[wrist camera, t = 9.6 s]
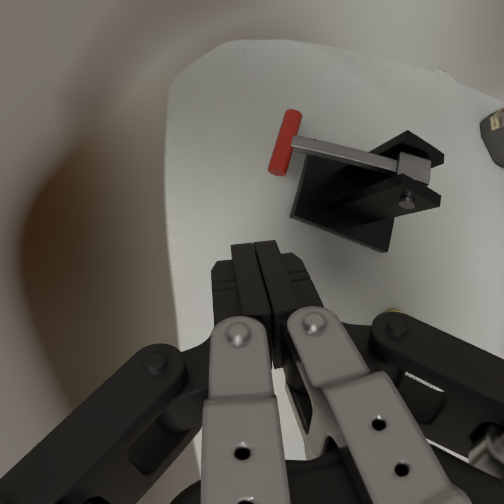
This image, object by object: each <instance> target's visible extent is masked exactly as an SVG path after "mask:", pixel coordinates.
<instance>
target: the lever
mask: <svg viewBox="0 0 504 504" xmlns="http://www.w3.org/2000/svg"><path fill="white" fill-rule="evenodd" d="M301 120H302V114H301V113H300V112H299V111H297V110H293V109H289V110H287V111H286V112H285V115H284V118H283V121H282V124H281V128H280V131H279V134H278V137H277V140H276V144H275V147H274V150H273V153H272V157H271V160H270V163H269V166H268V171H269V172H270V173H271V174H273V175H276V176H285V175H286V172H287V169H288V165H289V162H290V158H291V155H292V151H294V152H299V153H304V154H308V155H313V156H317V157H322V158H326V159H330V160H334V161H339V162H343V163H347V164H351V165H355V166H358V167H362V168H366V169H370V170H373V171H377V172H381V173H384V174H388V175H391V176H393V177H394V176H396V175H399V174H401V173H404V174H406V175H407V176H409V177H411V178H413V179H414V180H416V181H418V182H419V183H421V184H423V185H424V186H426V187H427V186H428V185H429V180H430V170H431V161H430V160H427V159H424V158H421V157H417V156H414V155H411V154H408V153H404V152H400V154H399V156H398V158H397V160H394V159H390V158H387V157H383V156H380V155H376V154H372V153H369V152H365V151H361V150H357V149H353V148H349V147H345V146H341V145H337V144H332V143H328V142H324V141H319V140H314V139H310V138H305V137H300V136H297V134H298V130H299V127H300V123H301Z"/></svg>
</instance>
